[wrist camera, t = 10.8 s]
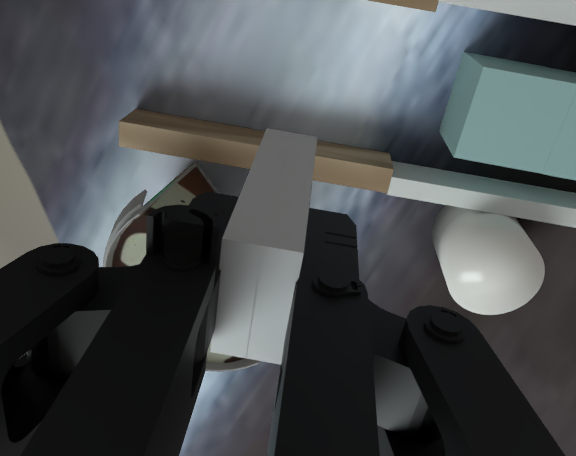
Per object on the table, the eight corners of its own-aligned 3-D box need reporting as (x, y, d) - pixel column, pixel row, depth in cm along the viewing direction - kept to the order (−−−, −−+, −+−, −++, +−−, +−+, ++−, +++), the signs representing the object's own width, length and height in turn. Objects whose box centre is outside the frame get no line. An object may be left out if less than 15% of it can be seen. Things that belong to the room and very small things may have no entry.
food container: (116, 185, 37) (47, 256, 28) (183, 143, 35) (131, 205, 27) (215, 309, 42) (182, 404, 33) (280, 277, 40) (264, 369, 31)
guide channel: (138, -75, 30) (119, -78, 27) (434, -24, 30) (444, -21, 27) (135, 131, 35) (118, 146, 33) (383, 175, 35) (387, 193, 33)
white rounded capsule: (444, 187, 35) (463, 227, 30) (526, 201, 35) (560, 244, 30) (422, 257, 38) (435, 306, 33) (498, 270, 38) (524, 321, 33)
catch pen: (435, -25, 29) (444, -24, 27) (719, 24, 29) (757, 30, 27) (383, 176, 35) (387, 194, 33) (620, 218, 35) (643, 239, 33)
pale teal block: (463, 51, 31) (483, 66, 27) (545, 66, 31) (579, 84, 27) (438, 131, 34) (453, 157, 29) (515, 145, 34) (541, 173, 29)
